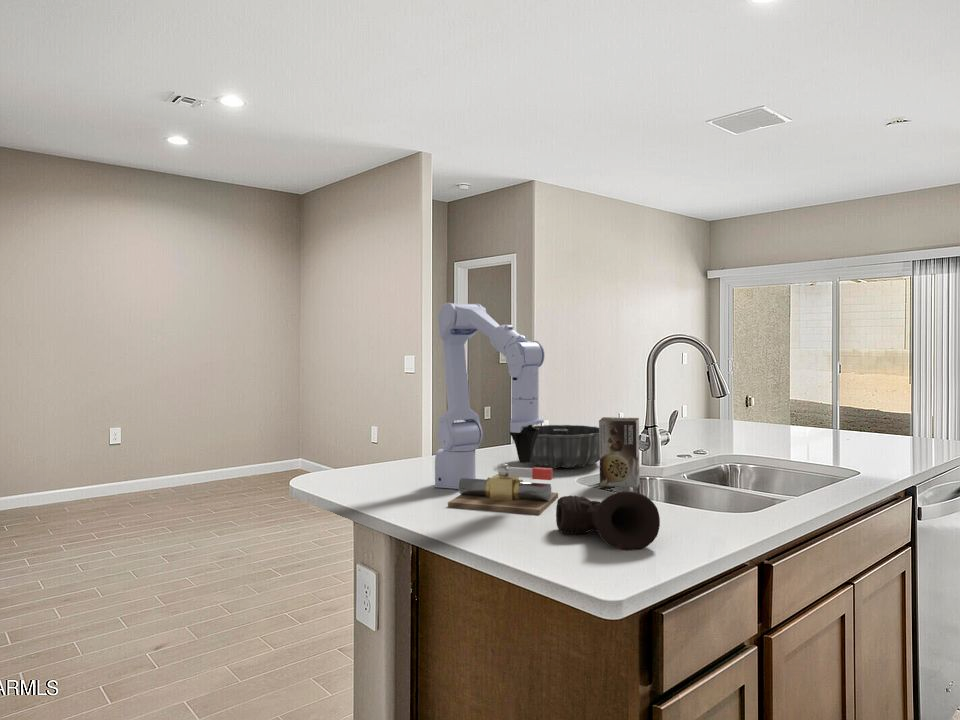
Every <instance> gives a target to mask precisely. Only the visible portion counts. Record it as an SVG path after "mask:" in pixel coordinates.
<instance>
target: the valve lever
mask: <svg viewBox="0 0 960 720" xmlns="http://www.w3.org/2000/svg"><path fill="white" fill-rule="evenodd" d="M497 471H498V475H499V476H501V477H508V476H510V477H519V478H528V479H529V478H530V479H532V480H542V481H552V480H553V479H554V468H553V467H542V466H534V467H518V466H517V467H515V466H509V464H508V463H501V464H500V466H498V470H497Z"/></svg>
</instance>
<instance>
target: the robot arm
mask: <svg viewBox="0 0 960 720" xmlns="http://www.w3.org/2000/svg"><path fill="white" fill-rule="evenodd" d="M437 321H438V331H439V339H442V340H441V341H442V353H443V365H444V377H445V387H446V399H447V410H446V411H445V412H444V413H443V414H442V415H441V416H440V417H439V418H438V430H437V439H438V443H439V445H440V446H441V448H439V449H438V450H437V451H436V453H435V458H434V485H433V487H434V488H440V489H441V488H442V489H454V490H455V489H456V490H459V482H460V479H461V478H471V479H477V478H476V450H477V449H479V445H480V444H481V443H482V441H483V435H484V433H483V428H482V425H481V422H480V417H479V414H478V413H477V412H476V411H474V410H473V409H471V407H470V406H471V405H470V396H469V395H470V394H469V384H468V383H469V382H468V372H467V361H466V350H465V344H466V342H467V341H468V340H470V339H471V338H473V337H474V336H475V335H476V334H477V333H478V332H481V333H482V334H483V335H485V336H486V337H488V338H489V343H490V345H491V346H492V347H493V348H494V349H495V350H496V351H498V353H500V354H501V355H503V356H504V357H505V362H506V364H507V367H508V374H509V377H511V418H510V423H509V434H510V436H511V438H512V440H513V442H514V446H515V449H516V453H517V458H518V462H519V464H522V463H523V464H530V462H531V458H532V453H533V449H534V444H535V441H536V438H537V436H538V434H539V432H540V428H532V426H539V424H544V423H545V419H543V418H542V419H541V418H539V417H540V416H539V414H540V411H539V410H540V409H539V407H540V406H539V405H540V404H539V389H540V387H539V383H540V382H539V381H540V380H539V370H540V369H539V368H540V367H542V366H543V364H544V360H545V350H544V346H543V345H541V343H540V342H539V341H538V340H532V341H529V340H528V339H527V338H526V336H525V335H523V334H520V333H519V332H517V331H516V330H514V326H513V325H511V324H501V325H500V324H499V323H498V322H496V320H495V319H494V318H492V317H491V316H490V315H489V314H488V312H487V309H486V307H484V306H482V305H481V304H480V303H452V302H445V303H443V305H442V306H441V308H440V310H439V312H438V314H437ZM455 421H458V422H455Z"/></svg>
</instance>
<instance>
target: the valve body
mask: <svg viewBox="0 0 960 720" xmlns="http://www.w3.org/2000/svg"><path fill="white" fill-rule="evenodd" d="M458 492H459V494H460V495H461V494H464V495H477V496H486V498H490V499H495V500H508V501H513V500H520V499H529V500H542V501H550V498H551V492H552V485H551V483H542V482H541V483H540V482H528V481H523V479H520V477H510V476H508V477H501V476H499V475H498V474H495V475H493V476H492V477H487V478H486V479H485V478H484V479H483V478H476V479H471V478H461V479H460V482H459V489H458Z"/></svg>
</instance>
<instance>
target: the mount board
mask: <svg viewBox="0 0 960 720" xmlns="http://www.w3.org/2000/svg"><path fill="white" fill-rule="evenodd" d="M558 499H559V493H558V492H552V491H551V498H550V501H542V500H529V499H520V500H513V501H508V500H495V499H490V498H486V496H477V495H464V494H460V495H458V496H456V497H454V498H453V499H451V500H449V501H448V502H447V507H448V508H455V507H456V508H457V509H469V510H470V509H471V510H480V511H491V512H492V511H493V512H505V513H515V514H527V515H539V516H540V515H541V514H542V513H543V512H544V511H546V510H547V508H548V507H549V506H551V505H552V504H553V503H554V502H555V501H556V500H558Z"/></svg>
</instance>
